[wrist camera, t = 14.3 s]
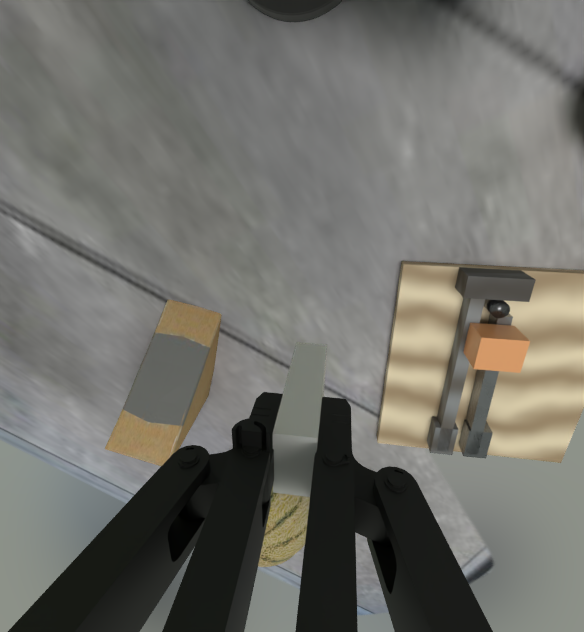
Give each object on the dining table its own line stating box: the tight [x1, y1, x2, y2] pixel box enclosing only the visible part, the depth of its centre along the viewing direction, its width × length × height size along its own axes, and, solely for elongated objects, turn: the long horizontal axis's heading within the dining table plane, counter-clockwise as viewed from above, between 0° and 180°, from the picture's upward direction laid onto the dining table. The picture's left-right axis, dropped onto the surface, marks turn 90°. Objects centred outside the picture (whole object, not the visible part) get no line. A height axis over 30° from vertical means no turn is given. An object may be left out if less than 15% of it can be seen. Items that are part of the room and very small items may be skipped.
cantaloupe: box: [258, 487, 310, 567], centre depth 56 cm, size 15×15×15 cm
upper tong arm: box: [459, 299, 513, 458], centre depth 47 cm, size 24×4×3 cm, turn 0°
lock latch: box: [463, 323, 530, 373], centre depth 42 cm, size 4×5×4 cm
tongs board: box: [377, 261, 584, 463], centre depth 48 cm, size 28×26×5 cm
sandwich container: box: [105, 300, 221, 466], centre depth 49 cm, size 9×15×15 cm, turn 167°
